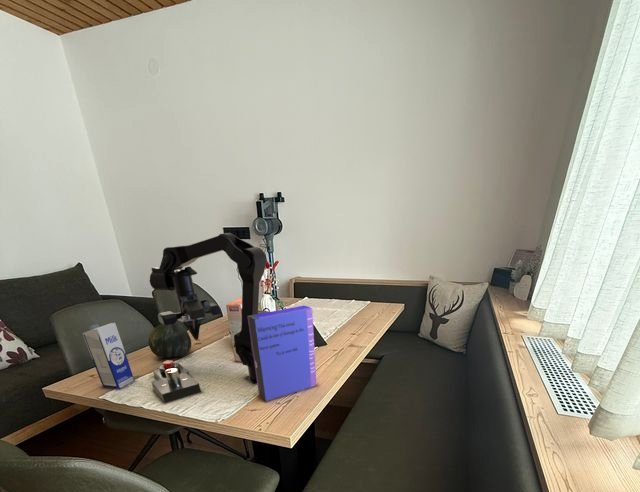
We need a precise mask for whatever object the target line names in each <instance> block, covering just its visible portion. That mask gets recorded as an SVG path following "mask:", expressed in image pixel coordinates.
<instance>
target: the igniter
mask: <svg viewBox="0 0 640 492" xmlns="http://www.w3.org/2000/svg"><path fill="white" fill-rule="evenodd" d="M174 363H175V362H174V361H173V360H165V361H163V362H162V365H164V368H171V367H174Z"/></svg>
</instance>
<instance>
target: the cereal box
mask: <svg viewBox="0 0 640 492" xmlns="http://www.w3.org/2000/svg"><path fill="white" fill-rule="evenodd" d="M247 317H248V323H249V330H250V337H251V344H252V351H253V357H254V364H255V371H256V378H257V383H256V385H257V390H258V396H259V397H260V398H261V399H262V400H263V401H264V402H269V401H272V400H276V399H279V398H282V397H285V396H289V395H292V394H295V393H297V392H298V393H299V392H301V391H305V390H308V389H311V388H314V387H317V385H318V384H317V371H316V370H317V369H316V368H317V367H316V351H315V350H316V349H315V334H314V316H313V308H312V307H310V306H307V305H299V306H295V307H289V308H288V307H287V308H284V309H283V308H282V309H278V310H272V311H267V312H261V313H258V314H256V315H250V316H247Z"/></svg>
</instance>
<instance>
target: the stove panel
mask: <svg viewBox="0 0 640 492" xmlns="http://www.w3.org/2000/svg"><path fill="white" fill-rule="evenodd" d="M179 377H180V381H181V382H180V383H178V384H175V385H169V384H168V380H167V378H163V379H159V380H158V379H156V380H152V381H150V383H151V387H152V389H153V392H154V393H155V394H156V395H157V396H158V397H159V398H160V400H161V401H162V402H163V403H164V404H168V403H170V402H175V401H177V400H181V399H183V398H184V399H185V398H187V397H190V396H193V395H197V394H200V393H202V390H201V387H200V383H199V382H198V381H197V380H195V379H194V378H193V377H192V376H191V375H190V374H189V375H188V374H187V373H186V372H185V373H181V374H179Z"/></svg>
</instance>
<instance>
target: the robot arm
mask: <svg viewBox="0 0 640 492" xmlns="http://www.w3.org/2000/svg"><path fill="white" fill-rule="evenodd" d="M222 251H223V252H225V254H226V255H227V257H229V259H230V260H231V261H232V262H234V263H235V264H236V265H237V266H236V267H237V272H238V274H239V277H240V280H241V283H242V286H241V287H242V290H241V297H242V324H241V331H240V332H239V333H237V334H235V335H234V341H235V343H234V346H232V348H233V347H235V351H236V353H237V354H238V355H239V357H240V360H241V364H242V366H246V367H247V371H248V375H247V376H245V377H244V378H245V380H247V381H249V382H250V383H252V384H254V385H257V378H256V371H255V364H254V357H253V351H252V344H251V337H250V330H249V323H248V317H247V316H250V315H256V314H259V301H260V300H259V299H260V283H261V280H262V278H263V276H264V274H265V270H266V267H267V261H268V259H267V255H266V253H265V252H264V250H263V249H262V248H260V247H258V246H254V245H253V244H251V243H249V242H247V241H245V240H243V239H241V238H239V237H238V236H236V235H235V234H233V233H231V232H225V233H220V234H218V235H216V236H213V237H210V238H207V239H204V240H201V241H197V242H194V243H191V244H183V245H174V246H168V247H165V248H164V249H163V250H162V258H161V261H160V265H159V266H154V267H151V269H150V270H151V273H150V275H149V281H148V282H149V284H150V286H151V288H152V289H153V290H155V291H167V292H168V291H171V292H172V291H174V292H175V294H174V296H175V298H176V301H177V304H178V311H179V312H173V311H171V310H169V311H168V310H167V311H162V312H158V314H157V319H158V322H159V323H160V324H163V325H169V324H174V323H176V322H177V321H178V323H181V324H183V325H184V326H185V327H186V330H187V331H188V333H190V334H191V336H192V338H193V339H194V340H195V341H198V340H199V338H200V337H199V336H200V329H201V324H202V322H203V321H205V320H206V317H207V316H206V314H211V315H212V316H218V315H221V314H222V308H221V306H220V305H218V304H216V303H213V302H211V303H210V300H209V299H202V300H199V298H198V294H197V293H196V290H195V286H194V281H193V277H192V276H195V275H197V274H198V272H197V271H196V270H195V269H194V268H192V267H191V266H190V265H192V264H193V263H195V262H196V261H197V260H198V259H200V258H203V257H206V256H210V255H213V254H215V253H216V254H217V253H220V252H222ZM183 268H184V269H183Z"/></svg>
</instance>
